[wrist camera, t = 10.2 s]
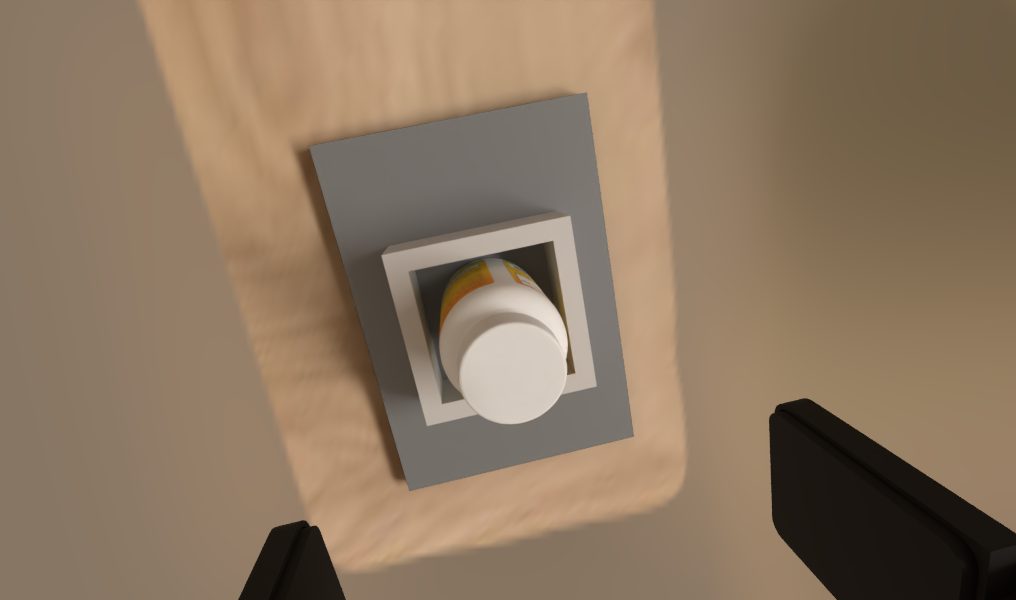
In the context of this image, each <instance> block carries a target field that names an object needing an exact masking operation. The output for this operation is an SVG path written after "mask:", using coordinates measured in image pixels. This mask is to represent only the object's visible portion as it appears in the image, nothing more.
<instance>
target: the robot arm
mask: <svg viewBox="0 0 1016 600" xmlns="http://www.w3.org/2000/svg"><path fill="white" fill-rule="evenodd" d="M769 431H770V462H771V492H772V518H773V523H774V526H775V528H776V530H777V532H778V534H779V535H780V536H781V538H782V539H783V540H784V541H785V542H786V543H787V545H788V546H789V547H790V548H791V549H792V550H793V551H794V552H795V553H796V555H797V556H798V557H799V558H800V559H801V560H802V561H803V562H804V564H805V565H806V566H807V567H808V568H809V569H810V570H811V571H812V572H813V574H814V575H815V576H816V577H817V578H818V579H819V580H820V582H822V584H823V585H824V586H825V587H826V588H827V589H828V590H829V591H830V593H831V594H832V595H833V596H834V597H835V598H836V599H837V600H1016V533H1014V532H1013V531H1011V530H1010V529H1008V528H1007V527H1005V526H1004V525H1002V524H1001V523H999V522H998V521H996V520H994V519H993V518H991V517H990V516H988V515H987V514H985V513H984V512H982V511H981V510H979V509H978V508H976V507H975V506H973V505H971V504H970V503H968V502H967V501H965V500H964V499H962V498H961V497H959V496H958V495H956V494H955V493H953V492H952V491H950V490H948V489H947V488H945V487H944V486H942V485H941V484H939V483H938V482H936V481H934V480H933V479H932V478H930V477H928V476H927V475H925V474H924V473H922V472H921V471H919V470H918V469H916V468H915V467H913V466H912V465H910V464H908V463H907V462H905V461H904V460H902V459H901V458H899V457H898V456H896V455H895V454H893V453H892V452H890V451H889V450H887V449H886V448H884V447H882V446H881V445H879V444H877V443H876V442H875V441H873V440H872V439H870V438H869V437H867V436H866V435H864V434H863V433H861V432H859V431H858V430H856V429H855V428H853V427H852V426H850V425H849V424H847V423H846V422H844V421H843V420H841V419H840V418H838V417H836V416H835V415H833V414H832V413H830V412H829V411H827V410H826V409H824V408H822V407H821V406H820V405H818V404H816V403H815V402H813V401H812V400H810V399H805V398H803V399H799V400H795V401H791V402H787V403H783V404H779V405H778V406H777V407H776V409H775V413H773V414H771V416H770V418H769ZM238 600H346V599H345V596H344V594H343V591H342V588H341V586H340V583H339V580H338V578H337V575H336V572H335V570H334V567H333V564H332V562H331V559H330V556H329V554H328V551H327V548H326V546H325V543H324V540H323V538H322V535H321V532H320V530H319V528H318V527H317V526H311V527H310V526H309V524H308V523H307V522H306V521H304V520H302V521H299V522H295V523H290V524H286V525H282V526H278V527H275V528H273V529H272V530H271V532H270V533H269V536H268V538H267V540H266V542H265V544H264V546H263V548H262V550H261V553H260V555H259V557H258V559H257V561H256V563H255V566H254V567H253V570H252V572H251V574H250V576H249V578H248V580H247V582H246V584H245V587H244V589H243V591H242V593H241V595H240V597H239V599H238Z"/></svg>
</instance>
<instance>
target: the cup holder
mask: <svg viewBox="0 0 1016 600" xmlns="http://www.w3.org/2000/svg"><path fill="white" fill-rule="evenodd" d="M309 148H310V152H311V155H312V159H313V162H314V165H315V169H316V172H317V176H318V179H319V183H320V186H321V189H322V193H323V196H324V200H325V203H326V207H327V210H328V214H329V217H330V220H331V224H332V227H333V231H334V234H335V238H336V241H337V244H338V248H339V251H340V255H341V258H342V262H343V265H344V268H345V272H346V275H347V279H348V282H349V286H350V289H351V292H352V296H353V299H354V303H355V306H356V310H357V313H358V316H359V320H360V323H361V327H362V330H363V334H364V337H365V341H366V344H367V347H368V351H369V354H370V358H371V361H372V365H373V368H374V371H375V375H376V378H377V382H378V385H379V389H380V392H381V395H382V399H383V402H384V406H385V409H386V413H387V416H388V419H389V423H390V426H391V430H392V433H393V437H394V440H395V443H396V447H397V450H398V454H399V457H400V461H401V464H402V468H403V471H404V474H405V478H406V481H407V485H408V488H409V491H412V490H416V489H420V488H424V487H429V486H433V485H437V484H441V483H445V482H449V481H453V480H457V479H462V478H466V477H470V476H474V475H478V474H482V473H486V472H490V471H494V470H499V469H503V468H507V467H511V466H515V465H519V464H523V463H527V462H532V461H536V460H540V459H544V458H548V457H552V456H556V455H560V454H565V453H569V452H573V451H577V450H581V449H585V448H589V447H593V446H597V445H602V444H606V443H610V442H614V441H618V440H622V439H626V438H630V437H634V433H633V426H632V419H631V411H630V404H629V397H628V389H627V382H626V375H625V367H624V360H623V353H622V345H621V338H620V331H619V324H618V316H617V309H616V302H615V294H614V287H613V280H612V272H611V265H610V258H609V250H608V243H607V236H606V228H605V221H604V214H603V206H602V199H601V192H600V184H599V177H598V170H597V163H596V155H595V148H594V141H593V133H592V126H591V119H590V111H589V104H588V97H587V93H582V94H577V95H572V96H566V97H561V98H556V99H551V100H546V101H540V102H535V103H530V104H525V105H520V106H514V107H509V108H504V109H499V110H494V111H488V112H483V113H478V114H473V115H468V116H463V117H457V118H452V119H447V120H442V121H437V122H431V123H426V124H421V125H416V126H411V127H405V128H400V129H395V130H390V131H385V132H379V133H374V134H369V135H364V136H359V137H354V138H348V139H343V140H338V141H333V142H328V143H322V144H317V145H312V146H309ZM487 258H496V259H502V260H506V261H509V262H511V263H514V264H515V265H517V266H519V267H520V268H522V269H523V270H524V271H525V272H526V273H527V274H528V275H529V276H530V277H531V278H532V279H533V281H534V282H535V283H536V284H537V285H538V287H539V288H540V289H541V290H542V292H543V293H544V294H545V295H546V297H547V298H548V299H549V300H550V301H551V302H552V304H553V305H554V306H555V308H556V309H557V311H558V313H559V314H560V316H561V318H562V321H563V323H564V326H565V329H566V333H567V340H568V351H567V357H566V363H567V378H566V382H565V386H564V389H563V391H562V393H561V395H560V397H559V398H558V400H557V401H556V402H555V404H554V405H553V406H552V407H551V408H550V409H549V410H548V411H546V412H545V413H544V414H542V415H541V416H539V417H537V418H535V419H533V420H530V421H527V422H524V423H519V424H501V423H496V422H493V421H490V420H487V419H485V418H483V417H482V416H480V415H479V414H477V413H476V412H475V411H474V410H473V409H471V407H470V406H469V405H468V404H467V402H466V401H465V399H464V397H463V396H462V394H461V393H460V392H459V391H458V390H457V389H456V388H455V387H454V386H453V384H452V383H451V382H450V380H449V378H448V377H447V375H446V372H445V370H444V368H443V365H442V362H441V357H440V349H439V332H440V313H441V301H442V297H443V293H444V290H445V288H446V285H447V284H448V282H449V280H450V279H451V278H452V276H453V275H454V274H455V273H456V272H457V271H458V270H460V269H461V268H462V267H464V266H466V265H467V264H469V263H472V262H474V261H477V260H481V259H487Z"/></svg>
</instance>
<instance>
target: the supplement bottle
mask: <svg viewBox="0 0 1016 600" xmlns="http://www.w3.org/2000/svg"><path fill="white" fill-rule="evenodd" d="M439 349H440V357H441V362H442V365H443V368H444V370H445V372H446V375H447V377H448V378H449V380H450V382H451V383H452V384H453V386H454V387H455V388H456V389H457V390H458V391H459V392H460V393H461V394H462V396H463V397H464V399H465V401H466V402H467V404H468V405H469V406H470V407H471V409H473V410H474V411H475V412H476V413H477V414H479V415H480V416H482V417H483V418H485V419H487V420H490V421H493V422H496V423H501V424H519V423H524V422H527V421H530V420H533V419H535V418H537V417H539V416H541V415H542V414H544V413H545V412H546V411H548V410H549V409H550V408H551V407H552V406H553V405H554V404H555V402H556V401H557V400H558V398H559V397H560V395H561V393H562V391H563V389H564V386H565V382H566V378H567V363H566V357H567V351H568V340H567V333H566V329H565V326H564V323H563V321H562V318H561V316H560V314H559V313H558V311H557V309H556V308H555V306H554V305H553V304H552V302H551V301H550V300H549V299H548V298H547V297H546V295H545V294H544V293H543V292H542V290H541V289H540V288H539V287H538V285H537V284H536V283H535V282H534V281H533V279H532V278H531V277H530V276H529V275H528V274H527V273H526V272H525V271H524V270H523V269H522V268H520V267H519V266H517V265H515V264H514V263H511V262H509V261H506V260H502V259H496V258H487V259H481V260H477V261H474V262H472V263H469V264H467V265H466V266H464V267H462V268H461V269H460V270H458V271H457V272H456V273H455V274H454V275H453V276H452V278H451V279H450V280H449V282H448V284H447V285H446V288H445V290H444V293H443V297H442V301H441V313H440V332H439Z"/></svg>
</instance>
